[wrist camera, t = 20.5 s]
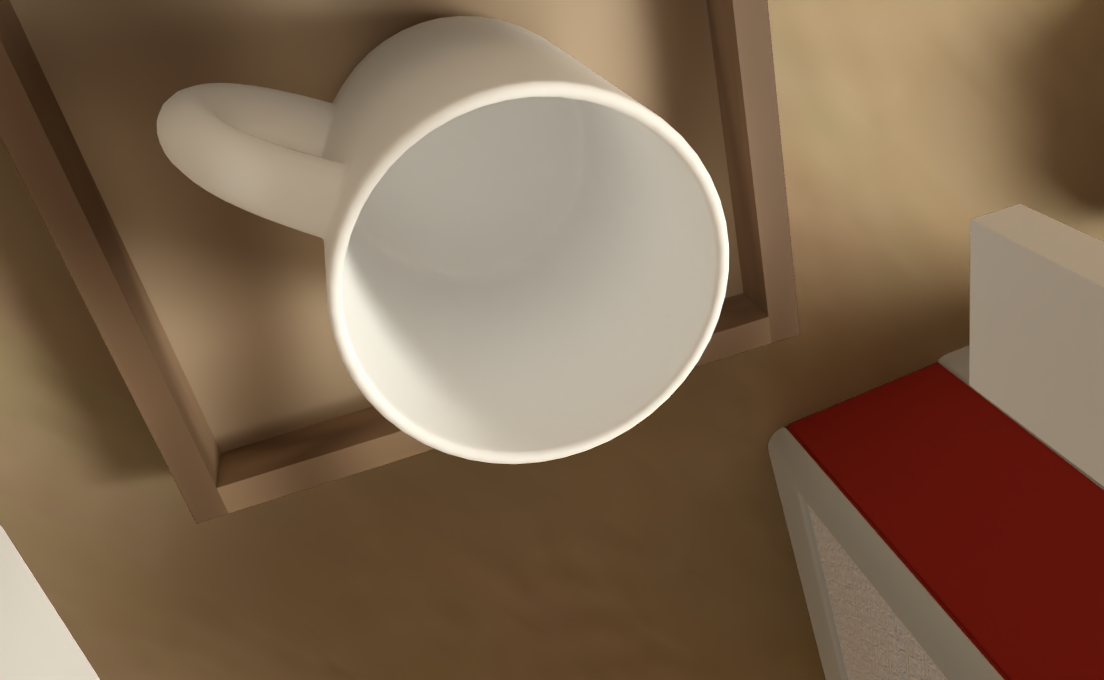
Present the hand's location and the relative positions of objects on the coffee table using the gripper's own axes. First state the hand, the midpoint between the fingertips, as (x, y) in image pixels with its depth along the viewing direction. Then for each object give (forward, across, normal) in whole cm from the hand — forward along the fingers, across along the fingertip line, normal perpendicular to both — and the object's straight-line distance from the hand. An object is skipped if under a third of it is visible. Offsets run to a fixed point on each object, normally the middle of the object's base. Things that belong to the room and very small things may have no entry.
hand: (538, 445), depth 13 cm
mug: (+17, 0, 0) cm, 17 cm away
